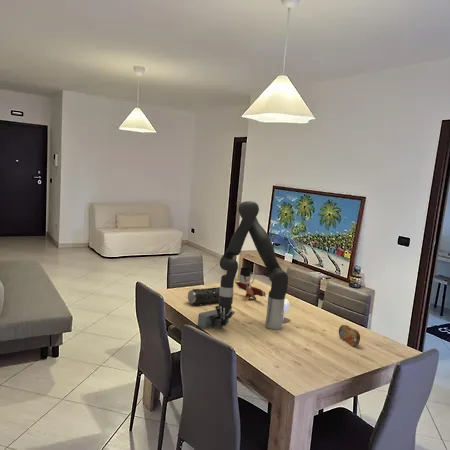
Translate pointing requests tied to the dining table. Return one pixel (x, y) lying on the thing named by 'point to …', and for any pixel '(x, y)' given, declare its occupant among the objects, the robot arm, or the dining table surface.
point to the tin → (349, 335)
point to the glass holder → (245, 275)
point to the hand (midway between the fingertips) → (223, 325)
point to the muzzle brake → (203, 295)
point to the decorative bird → (250, 290)
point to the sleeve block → (207, 319)
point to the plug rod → (216, 322)
